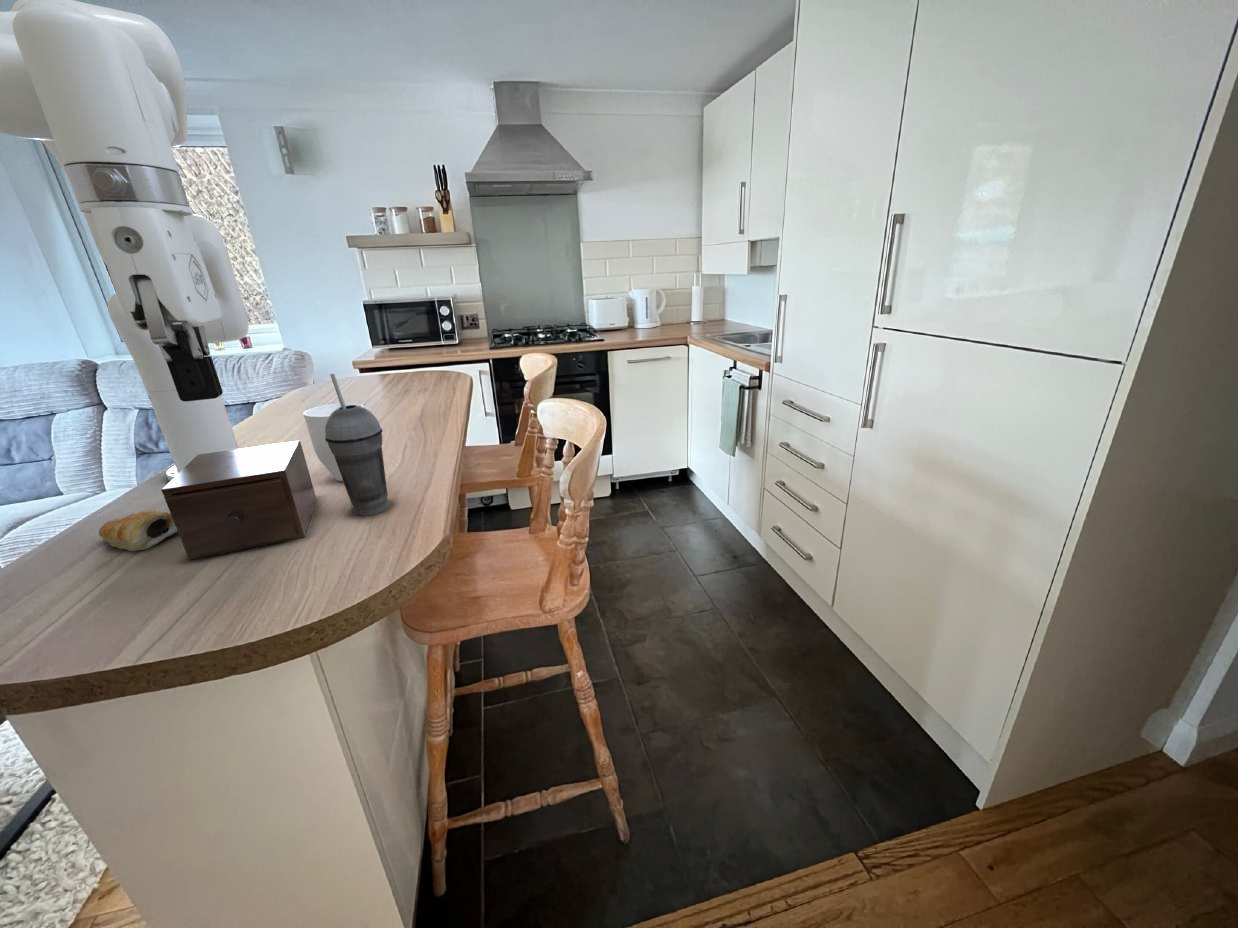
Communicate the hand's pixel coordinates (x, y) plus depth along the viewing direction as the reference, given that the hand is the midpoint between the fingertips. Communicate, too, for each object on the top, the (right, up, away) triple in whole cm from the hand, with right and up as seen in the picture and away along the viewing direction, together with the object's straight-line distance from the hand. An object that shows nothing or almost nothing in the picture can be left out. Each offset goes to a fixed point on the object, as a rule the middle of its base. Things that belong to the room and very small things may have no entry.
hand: (202, 397), depth 51 cm
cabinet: (-8, -15, +19) cm, 26 cm away
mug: (-4, -8, +37) cm, 38 cm away
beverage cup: (+6, -13, +23) cm, 28 cm away
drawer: (-7, -15, +17) cm, 24 cm away
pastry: (-22, -17, +17) cm, 33 cm away
